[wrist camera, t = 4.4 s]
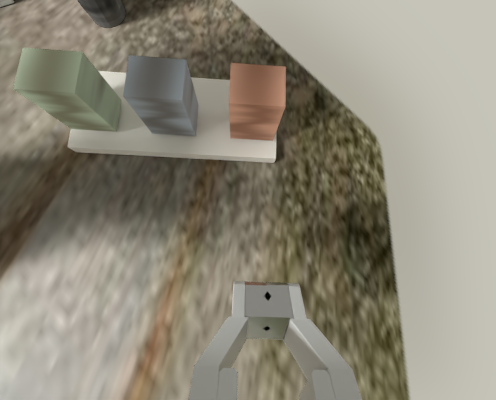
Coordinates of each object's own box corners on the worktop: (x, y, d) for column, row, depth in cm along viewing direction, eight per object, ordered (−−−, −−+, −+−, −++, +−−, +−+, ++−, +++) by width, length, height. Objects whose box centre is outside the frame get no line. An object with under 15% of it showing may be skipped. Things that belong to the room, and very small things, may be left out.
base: (76, 152, 28) (65, 146, 26) (89, 78, 29) (80, 67, 28) (273, 162, 29) (276, 157, 27) (275, 91, 30) (277, 81, 29)
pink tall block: (230, 138, 27) (228, 103, 20) (232, 107, 28) (230, 62, 21) (272, 140, 27) (285, 106, 20) (273, 109, 28) (285, 66, 21)
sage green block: (71, 129, 26) (12, 88, 19) (77, 97, 27) (23, 47, 20) (116, 131, 26) (74, 93, 19) (121, 100, 27) (82, 51, 20)
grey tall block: (152, 133, 26) (123, 96, 20) (156, 102, 27) (129, 55, 20) (195, 136, 27) (182, 100, 20) (198, 105, 27) (186, 59, 21)
